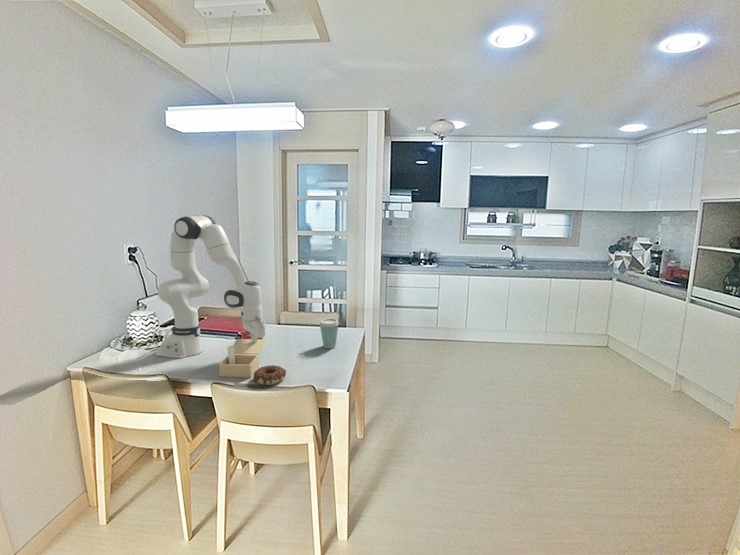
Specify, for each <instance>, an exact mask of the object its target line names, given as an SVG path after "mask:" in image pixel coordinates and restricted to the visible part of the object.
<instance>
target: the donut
mask: <svg viewBox="0 0 740 555" xmlns="http://www.w3.org/2000/svg"><path fill="white" fill-rule="evenodd" d="M286 374H287V371H286V369H285V368H283V367H281V366H279V365H274V364H272V365H270V364H269V365H264V366H261V367H259V368H258V369H257V370H256V371H255V372H254V375H253V376H252V377H253V378H252V379H253V381H254V382H255V383H257V384H259V385H262V386H271V385H276V384H278V383H280V382H282V381H283V379H284V378H286Z"/></svg>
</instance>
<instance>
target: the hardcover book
mask: <svg viewBox="0 0 740 555" xmlns="http://www.w3.org/2000/svg"><path fill="white" fill-rule="evenodd" d="M242 333H243V334H242ZM242 333H241V337H240V339H251V335H250V332H242ZM257 339H264V337H261V338H258V337H257Z"/></svg>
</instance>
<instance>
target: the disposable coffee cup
mask: <svg viewBox="0 0 740 555" xmlns="http://www.w3.org/2000/svg"><path fill="white" fill-rule="evenodd" d="M339 324H340V323H339V321H338V319H337V318H333V317H330V318H329V317H328V318H324V319H322V320H320V322H319V327H320V334H321V340H322V345H323V348H325V349H334V348H336V345H337V338H338V329H339Z"/></svg>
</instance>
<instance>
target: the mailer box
mask: <svg viewBox="0 0 740 555" xmlns="http://www.w3.org/2000/svg"><path fill="white" fill-rule="evenodd" d="M259 360H260V359H259V354H235V347H234V346H233V345H229V346H227V356H226V357H225V358H223V360H222V361H221V362H220V363H219V364H218V369H219V370H218V371H219V373H218V374H219V378H232V379H235V378H236V379H238V378H239V379H240V378H241V379H252V377H254V372H255V371H256V370H258V369H259V368H260V364H259V363H260V362H259Z"/></svg>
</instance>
